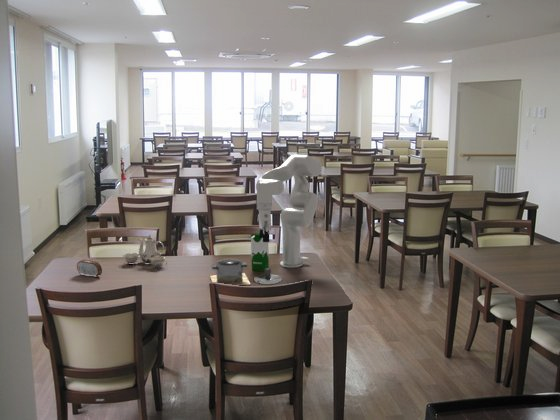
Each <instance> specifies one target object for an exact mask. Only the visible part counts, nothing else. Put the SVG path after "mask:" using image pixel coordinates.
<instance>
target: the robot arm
mask: <svg viewBox="0 0 560 420" xmlns="http://www.w3.org/2000/svg"><path fill="white" fill-rule="evenodd" d="M322 166H323V165H322V164H321V162H320V161H319V160H317V159H316V158H314V157H312V156H310V155H307V154H305V155H303V154H292V155H289V156H288V157H287V158H286V159H285V160H284V161H283V163H281V165H279V167H276V168H273V169H271V170H269V171H266V172H265V173H263V174H262V175H261V176H260V177H259V179H258V180H257V181H256V183H255V184H256V185H255V189H256V210H258V226H259V233H260V238H263V242H268V243H270V230H271V229H272V215H271V210H273V195H274V196H278V195H281V194H282V193H283V192H284V189H285V184H284V183H283V182H288V181H289V180H291V179H292V178H293V179H294V185H293V188H292V191H291V194H290V196H289V200H288V205H289V206H290V207H287V208H286V207H285V208H284V209H283V210H281V212H280V222H281V228H282V261H280V263H279V266H281V267H283V268H288V269H289V268H290V269H291V268H292V269H293V268H294V269H295V268H300V267H303V265H304V262H308V261H309V260H310V259H309V257H305V256H301V233H300V230H299V228H308V227H310V226H311V224H312V222H313V221H314V217H315V214H316V211H317V207H318V205H319V202H318V201H319V199H318V195H317V194H316V193H314V192H311V191H309V190H310V183H309V181H308V180H307V177H318V176H321V174H322V171H323V167H322ZM306 176H307V177H306Z"/></svg>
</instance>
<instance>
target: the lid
mask: <svg viewBox="0 0 560 420" xmlns="http://www.w3.org/2000/svg"><path fill="white" fill-rule="evenodd" d="M282 279H283V277H282V276H280V275H278V274H272V269H271V267H269V268H265V271H264V274H259V275H256V276H255V277H254V278H253V281H254V282H255V283H257V284H259V283H260V285H275V284H278V283H281V282H282V281H283V280H282Z"/></svg>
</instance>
